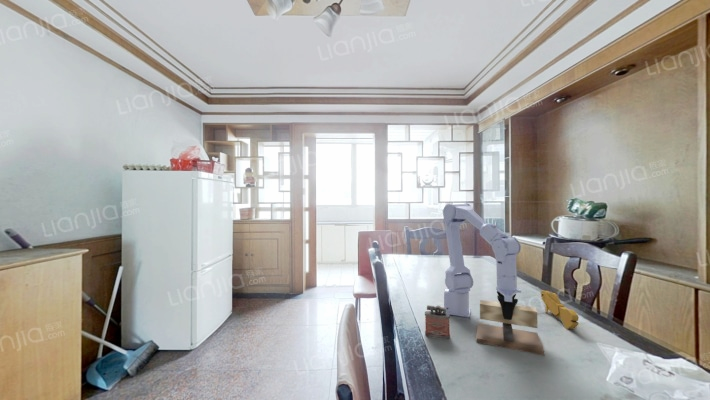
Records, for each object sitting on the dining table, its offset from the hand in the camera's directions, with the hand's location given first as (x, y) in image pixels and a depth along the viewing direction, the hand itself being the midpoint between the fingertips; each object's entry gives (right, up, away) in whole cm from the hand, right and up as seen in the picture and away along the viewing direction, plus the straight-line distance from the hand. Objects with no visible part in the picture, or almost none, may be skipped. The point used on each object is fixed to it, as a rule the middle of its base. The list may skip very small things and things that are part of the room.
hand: (507, 316), depth 89 cm
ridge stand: (0, -7, 0) cm, 7 cm away
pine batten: (0, -1, 0) cm, 1 cm away
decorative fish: (+27, -7, +14) cm, 31 cm away
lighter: (-22, -8, +3) cm, 23 cm away
